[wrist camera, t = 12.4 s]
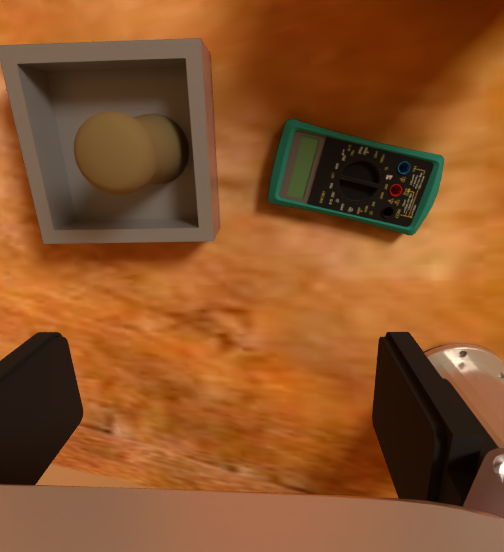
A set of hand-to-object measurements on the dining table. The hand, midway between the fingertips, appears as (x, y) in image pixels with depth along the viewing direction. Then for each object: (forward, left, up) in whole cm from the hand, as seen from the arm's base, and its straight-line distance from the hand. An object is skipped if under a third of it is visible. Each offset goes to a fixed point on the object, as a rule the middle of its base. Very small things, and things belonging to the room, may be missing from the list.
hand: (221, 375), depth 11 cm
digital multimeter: (+3, -9, -27) cm, 29 cm away
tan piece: (+6, +8, -25) cm, 27 cm away
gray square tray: (+6, +11, -26) cm, 29 cm away
